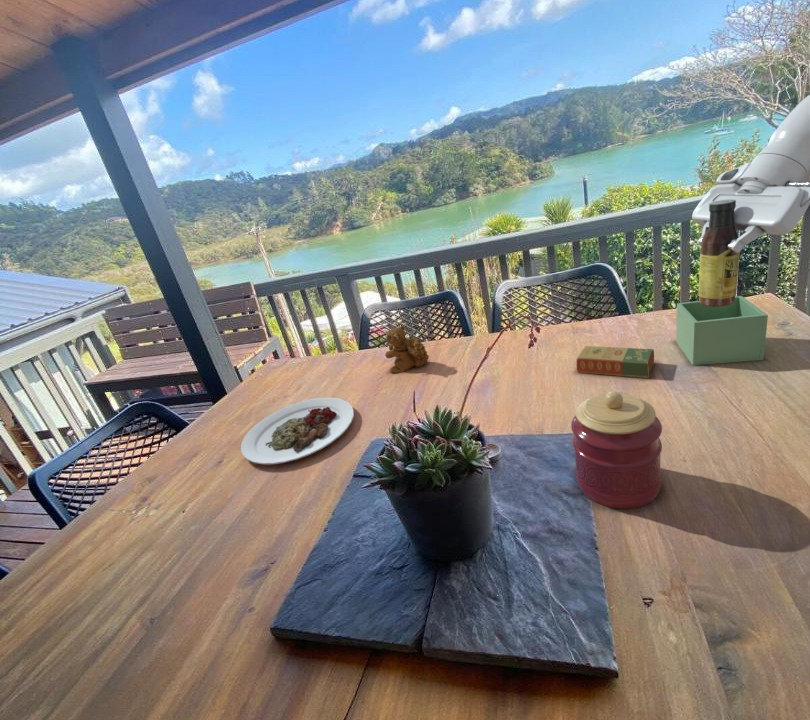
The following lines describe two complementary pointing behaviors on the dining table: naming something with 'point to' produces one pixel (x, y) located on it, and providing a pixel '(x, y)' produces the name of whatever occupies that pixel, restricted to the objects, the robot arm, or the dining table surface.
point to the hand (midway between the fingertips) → (716, 248)
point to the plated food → (297, 430)
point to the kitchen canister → (617, 450)
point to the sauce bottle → (719, 257)
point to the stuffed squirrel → (405, 351)
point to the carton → (616, 361)
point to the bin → (721, 332)
